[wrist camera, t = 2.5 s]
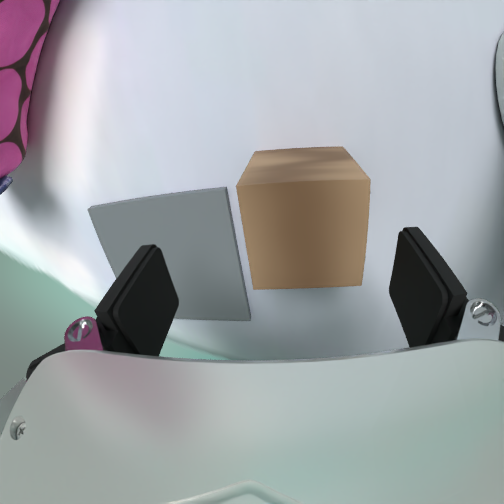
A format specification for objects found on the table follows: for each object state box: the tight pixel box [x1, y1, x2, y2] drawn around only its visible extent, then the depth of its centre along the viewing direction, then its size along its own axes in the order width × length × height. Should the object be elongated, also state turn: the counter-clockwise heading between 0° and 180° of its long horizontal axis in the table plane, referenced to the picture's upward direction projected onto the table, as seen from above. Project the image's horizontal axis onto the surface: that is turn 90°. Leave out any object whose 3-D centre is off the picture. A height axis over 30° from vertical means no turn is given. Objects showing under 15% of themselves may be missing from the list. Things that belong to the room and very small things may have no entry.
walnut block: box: [236, 147, 370, 290], centre depth 13 cm, size 5×5×6 cm
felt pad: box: [88, 187, 251, 321], centre depth 20 cm, size 11×11×1 cm
